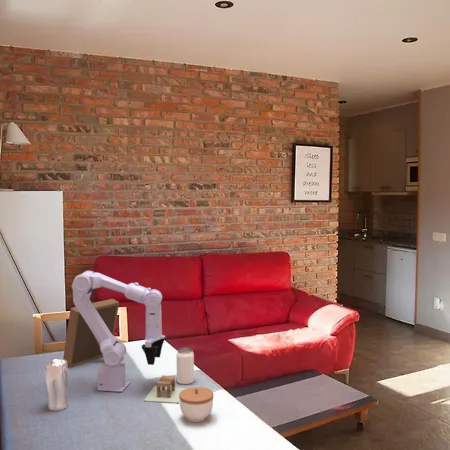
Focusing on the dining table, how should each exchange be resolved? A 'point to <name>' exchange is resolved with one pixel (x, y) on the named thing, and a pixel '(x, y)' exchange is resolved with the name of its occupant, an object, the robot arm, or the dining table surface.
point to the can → (185, 366)
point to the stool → (166, 385)
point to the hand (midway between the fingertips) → (154, 360)
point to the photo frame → (87, 333)
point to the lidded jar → (196, 403)
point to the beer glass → (57, 383)
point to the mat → (164, 395)
